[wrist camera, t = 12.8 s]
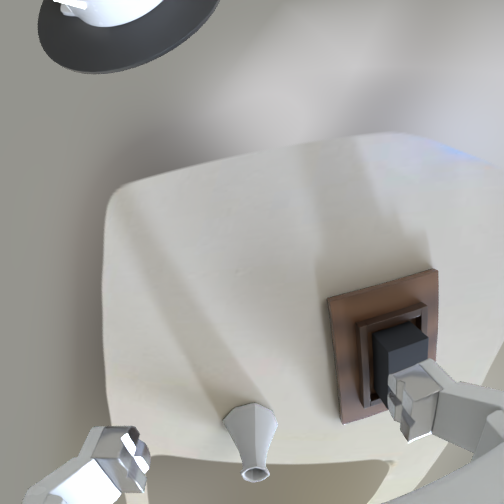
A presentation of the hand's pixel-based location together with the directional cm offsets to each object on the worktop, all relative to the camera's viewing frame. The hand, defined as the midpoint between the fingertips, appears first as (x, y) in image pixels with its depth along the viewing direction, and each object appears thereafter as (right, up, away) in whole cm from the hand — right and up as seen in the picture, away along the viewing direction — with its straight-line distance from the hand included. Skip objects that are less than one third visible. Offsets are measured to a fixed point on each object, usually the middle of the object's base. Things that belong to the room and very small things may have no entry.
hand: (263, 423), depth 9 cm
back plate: (+18, -8, +30) cm, 36 cm away
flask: (-1, -18, +31) cm, 36 cm away
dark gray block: (+18, -8, +29) cm, 35 cm away
